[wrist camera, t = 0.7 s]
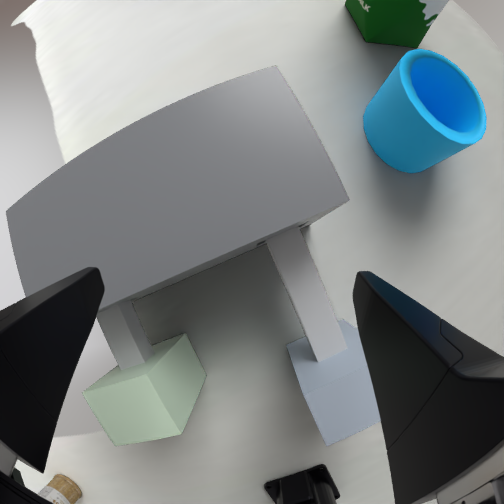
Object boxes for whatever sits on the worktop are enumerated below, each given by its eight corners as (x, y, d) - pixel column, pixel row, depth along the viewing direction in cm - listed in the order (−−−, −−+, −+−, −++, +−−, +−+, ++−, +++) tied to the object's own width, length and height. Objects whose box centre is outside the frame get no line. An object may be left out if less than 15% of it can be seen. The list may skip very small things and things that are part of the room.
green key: (206, 375, 22) (181, 434, 13) (156, 391, 22) (115, 446, 13) (138, 219, 23) (78, 199, 14) (92, 243, 23) (23, 237, 14)
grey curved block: (310, 224, 23) (349, 200, 13) (112, 310, 23) (40, 336, 13) (268, 136, 23) (276, 65, 13) (83, 225, 23) (5, 211, 13)
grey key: (357, 359, 22) (405, 407, 13) (303, 384, 22) (326, 446, 13) (284, 180, 22) (300, 134, 14) (225, 204, 23) (206, 172, 14)
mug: (404, 190, 23) (458, 165, 14) (345, 118, 23) (377, 68, 15) (464, 131, 23) (510, 102, 14) (415, 72, 23) (450, 30, 15)
